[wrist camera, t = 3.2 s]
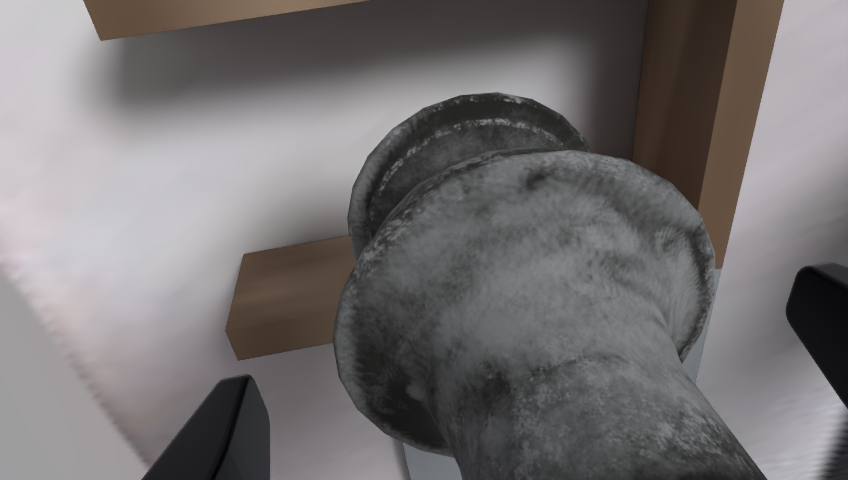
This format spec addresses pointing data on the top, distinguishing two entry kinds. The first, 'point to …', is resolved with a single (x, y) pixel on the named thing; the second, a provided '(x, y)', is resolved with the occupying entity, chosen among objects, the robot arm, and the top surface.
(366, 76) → the top surface
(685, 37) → the brown wooden u-shaped frame
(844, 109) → the top surface
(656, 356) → the grey tall turned piece
